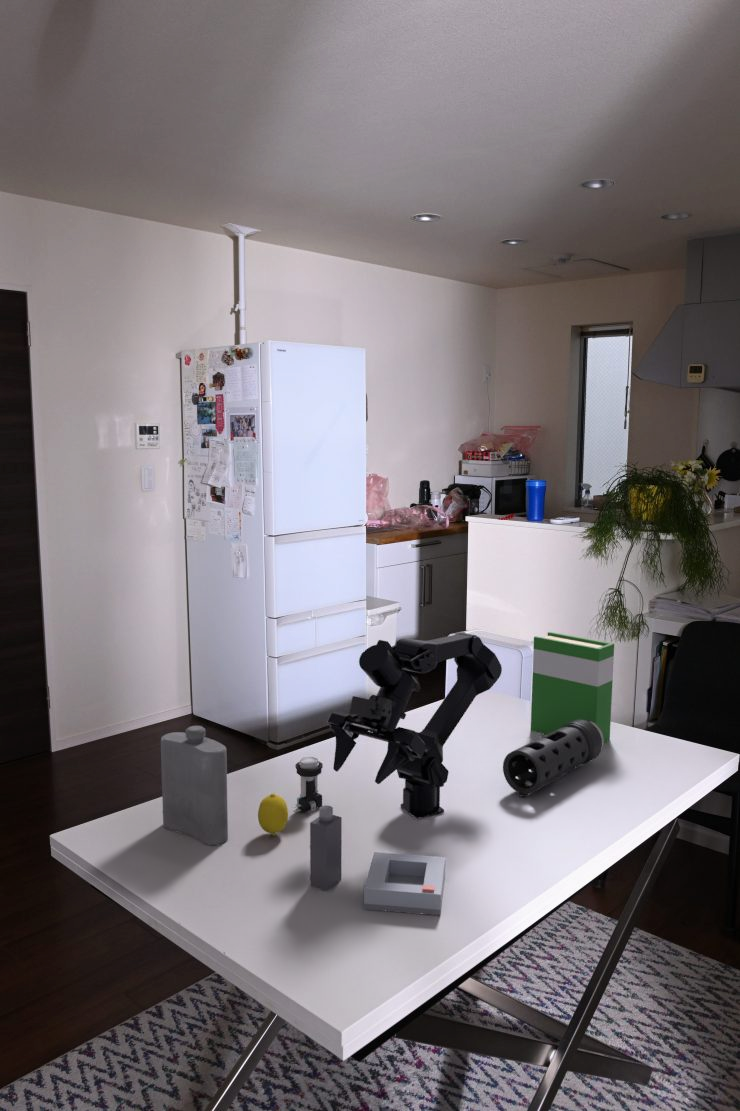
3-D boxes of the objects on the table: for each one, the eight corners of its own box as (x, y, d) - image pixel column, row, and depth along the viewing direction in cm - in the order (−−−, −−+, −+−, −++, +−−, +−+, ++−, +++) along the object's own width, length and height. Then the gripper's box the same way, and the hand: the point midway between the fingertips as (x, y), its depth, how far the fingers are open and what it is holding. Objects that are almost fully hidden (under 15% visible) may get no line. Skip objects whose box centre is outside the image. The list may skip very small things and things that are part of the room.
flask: (236, 836, 161) (235, 732, 158) (213, 849, 157) (211, 741, 154) (181, 815, 170) (178, 716, 167) (157, 826, 165) (154, 724, 162)
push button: (301, 818, 169) (300, 769, 167) (284, 809, 173) (284, 761, 171) (328, 809, 173) (328, 760, 172) (311, 800, 177) (311, 753, 176)
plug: (325, 874, 148) (325, 801, 146) (341, 879, 146) (341, 805, 144) (310, 885, 144) (310, 810, 142) (326, 891, 143) (326, 815, 141)
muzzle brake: (500, 792, 182) (502, 744, 181) (567, 755, 203) (569, 712, 201) (540, 805, 176) (542, 756, 174) (605, 766, 197) (608, 721, 195)
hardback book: (530, 730, 219) (533, 636, 216) (546, 723, 225) (549, 631, 221) (594, 748, 207) (599, 649, 204) (609, 740, 213) (614, 643, 209)
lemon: (275, 844, 158) (275, 802, 157) (252, 836, 161) (251, 795, 160) (294, 832, 163) (294, 791, 162) (270, 825, 166) (270, 785, 165)
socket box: (374, 871, 149) (374, 849, 148) (444, 876, 147) (445, 855, 147) (363, 909, 137) (364, 886, 137) (440, 915, 136) (441, 892, 135)
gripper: (332, 668, 161) (293, 744, 155) (416, 687, 150) (379, 769, 144) (358, 698, 169) (322, 771, 162) (440, 718, 158) (406, 797, 151)
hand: (355, 776), depth 154 cm, fingers open, 9 cm apart
